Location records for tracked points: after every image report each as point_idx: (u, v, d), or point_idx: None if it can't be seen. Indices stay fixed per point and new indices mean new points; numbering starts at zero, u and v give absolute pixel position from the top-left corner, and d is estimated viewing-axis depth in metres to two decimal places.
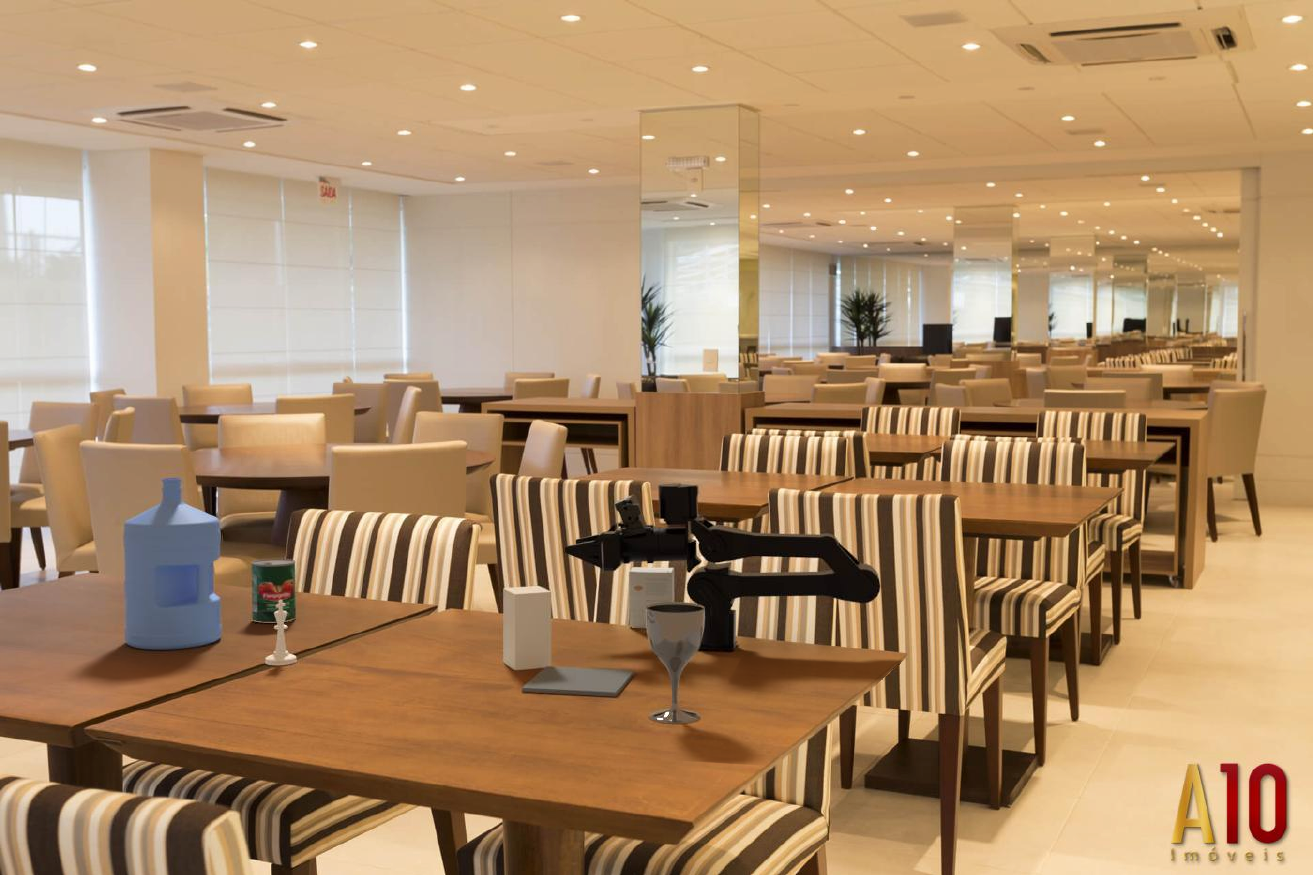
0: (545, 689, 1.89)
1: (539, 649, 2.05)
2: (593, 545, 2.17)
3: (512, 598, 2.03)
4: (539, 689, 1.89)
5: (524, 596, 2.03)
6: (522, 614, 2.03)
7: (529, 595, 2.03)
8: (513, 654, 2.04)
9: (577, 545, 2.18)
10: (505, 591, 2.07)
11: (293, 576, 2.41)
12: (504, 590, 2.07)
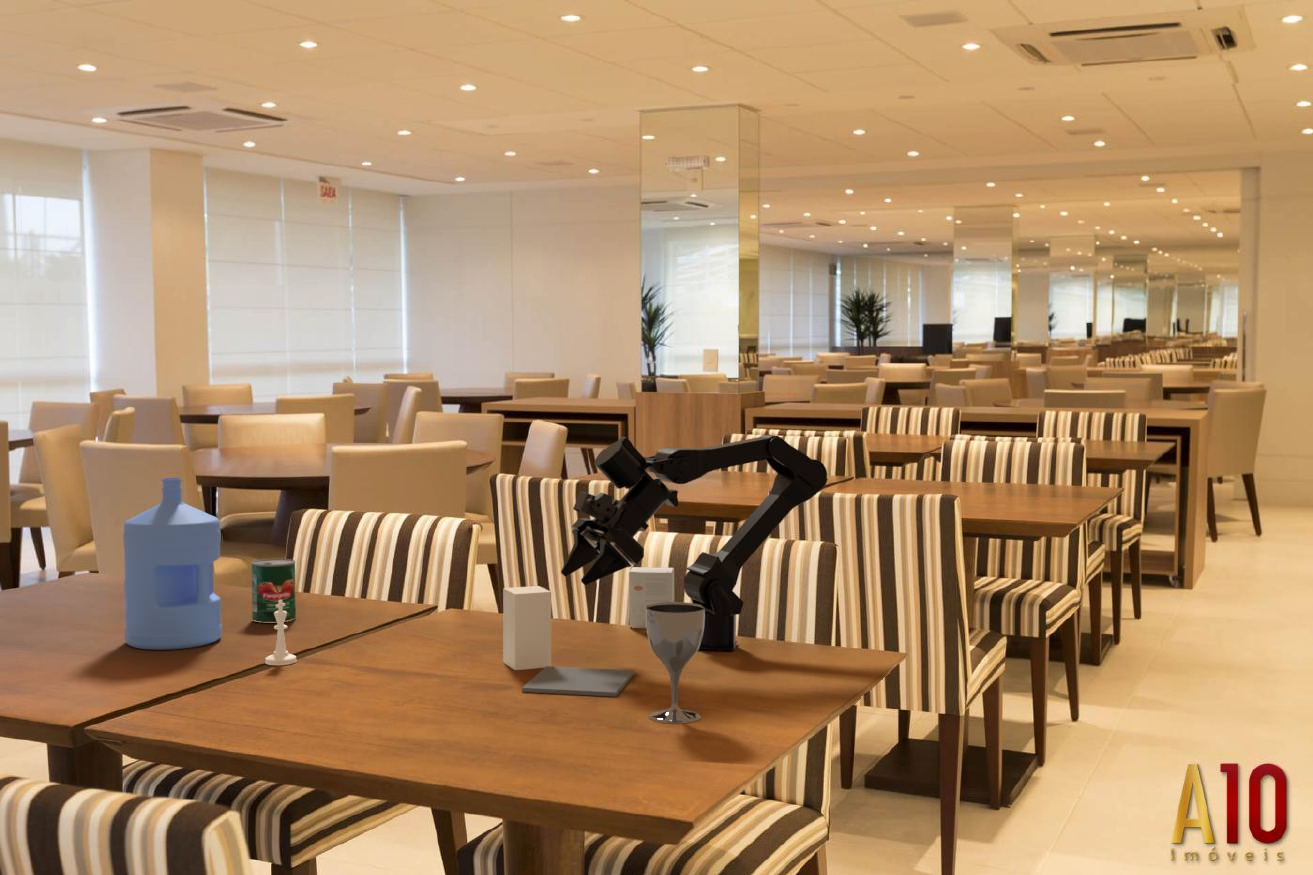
0: (545, 689, 1.89)
1: (539, 649, 2.05)
2: (604, 556, 2.05)
3: (512, 598, 2.03)
4: (539, 689, 1.89)
5: (524, 596, 2.03)
6: (522, 614, 2.03)
7: (529, 595, 2.03)
8: (513, 654, 2.04)
9: (591, 569, 2.05)
10: (505, 591, 2.07)
11: (293, 576, 2.41)
12: (504, 590, 2.07)
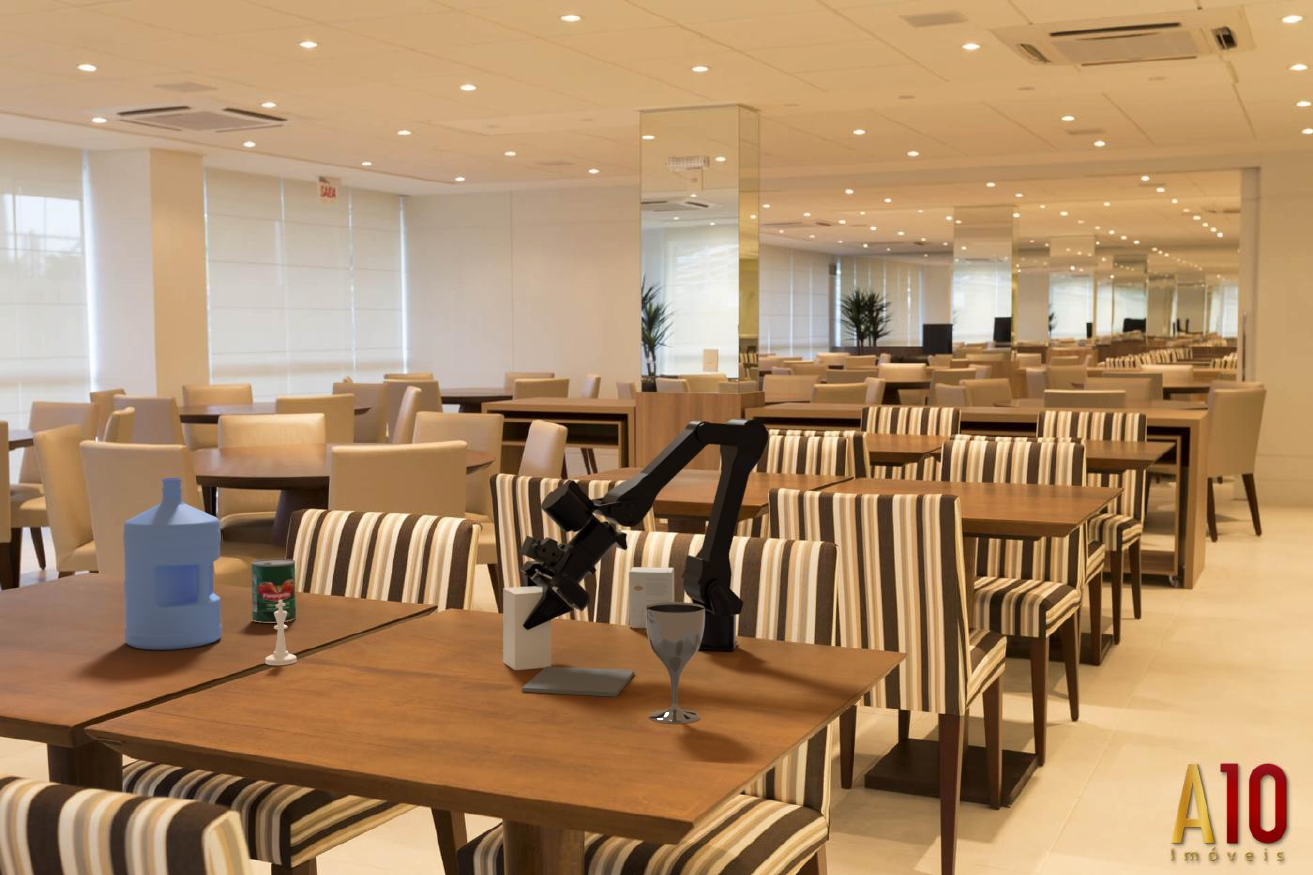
0: (545, 689, 1.89)
1: (539, 649, 2.05)
2: (547, 601, 2.03)
3: (512, 598, 2.03)
4: (539, 689, 1.89)
5: (524, 596, 2.03)
6: (522, 614, 2.03)
7: (529, 595, 2.03)
8: (513, 654, 2.04)
9: (533, 614, 2.03)
10: (505, 591, 2.07)
11: (293, 576, 2.41)
12: (504, 590, 2.07)
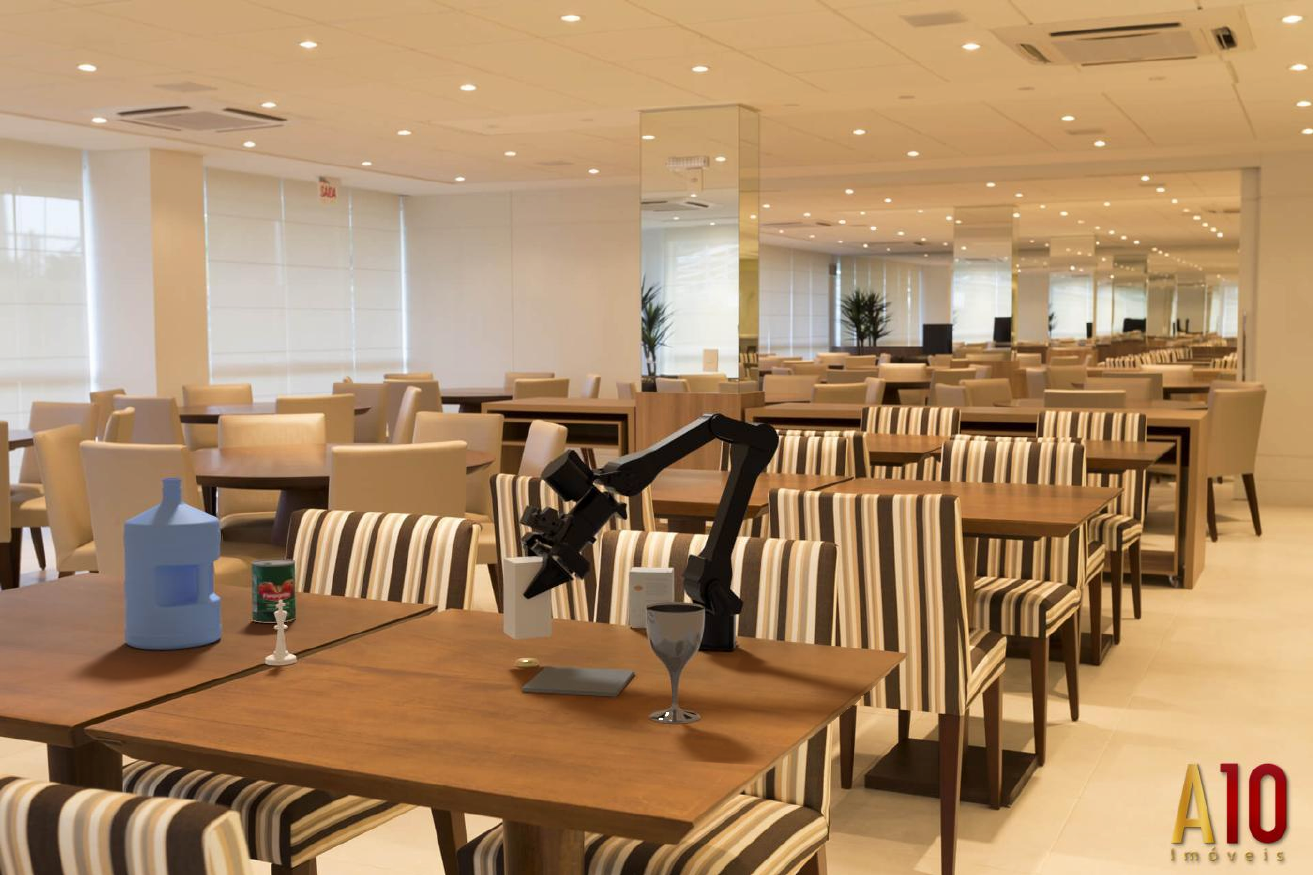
0: (545, 689, 1.89)
1: (539, 618, 2.04)
2: (547, 570, 2.03)
3: (513, 567, 2.03)
4: (539, 689, 1.89)
5: (525, 565, 2.03)
6: (522, 583, 2.03)
7: (529, 564, 2.03)
8: (513, 623, 2.03)
9: (533, 583, 2.02)
10: (505, 561, 2.07)
11: (293, 576, 2.41)
12: (504, 560, 2.07)
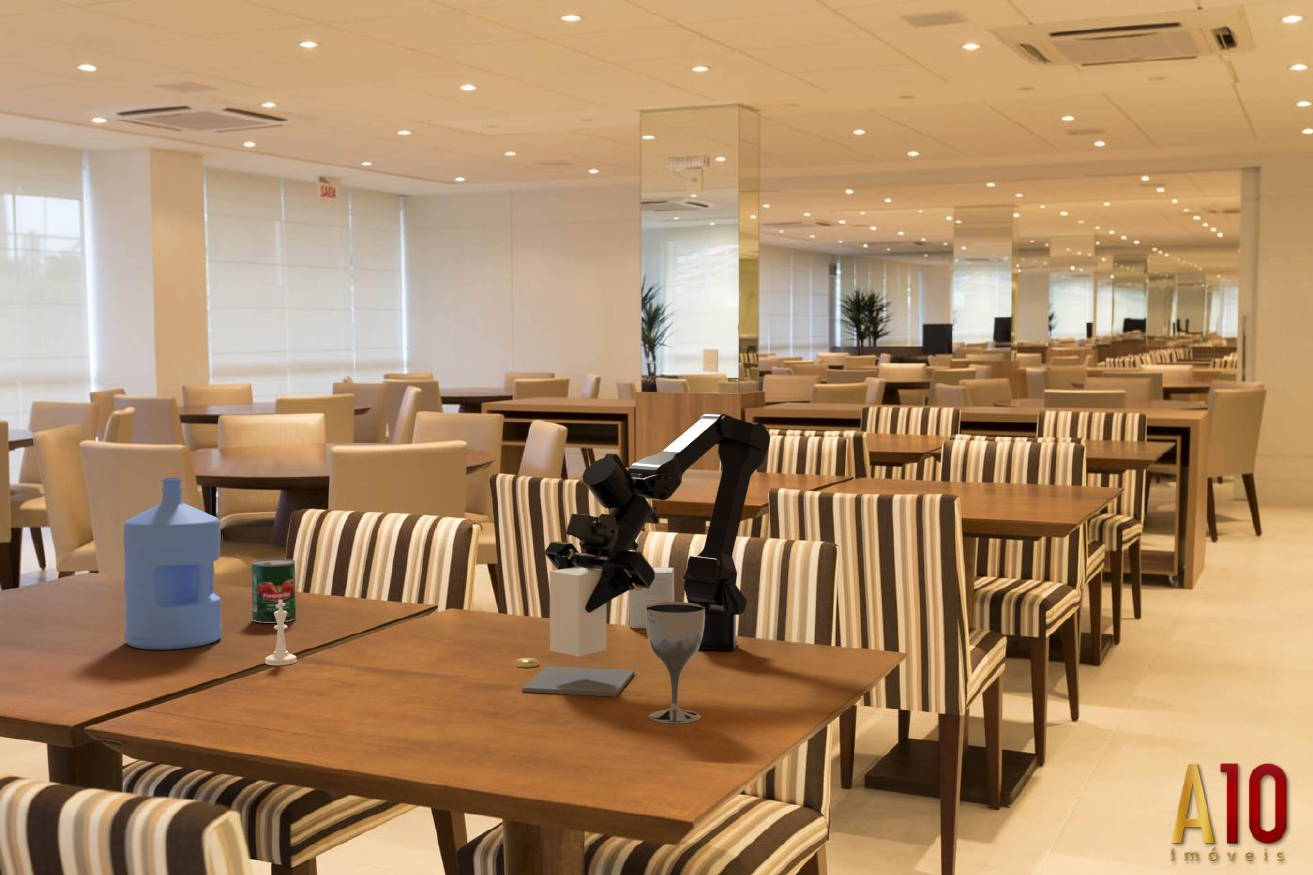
0: (545, 689, 1.89)
1: (597, 632, 1.94)
2: (609, 580, 1.93)
3: (573, 580, 1.91)
4: (539, 689, 1.89)
5: (586, 577, 1.92)
6: (584, 596, 1.92)
7: (589, 576, 1.92)
8: (575, 640, 1.91)
9: (596, 595, 1.92)
10: (555, 574, 1.94)
11: (293, 576, 2.41)
12: (552, 573, 1.94)
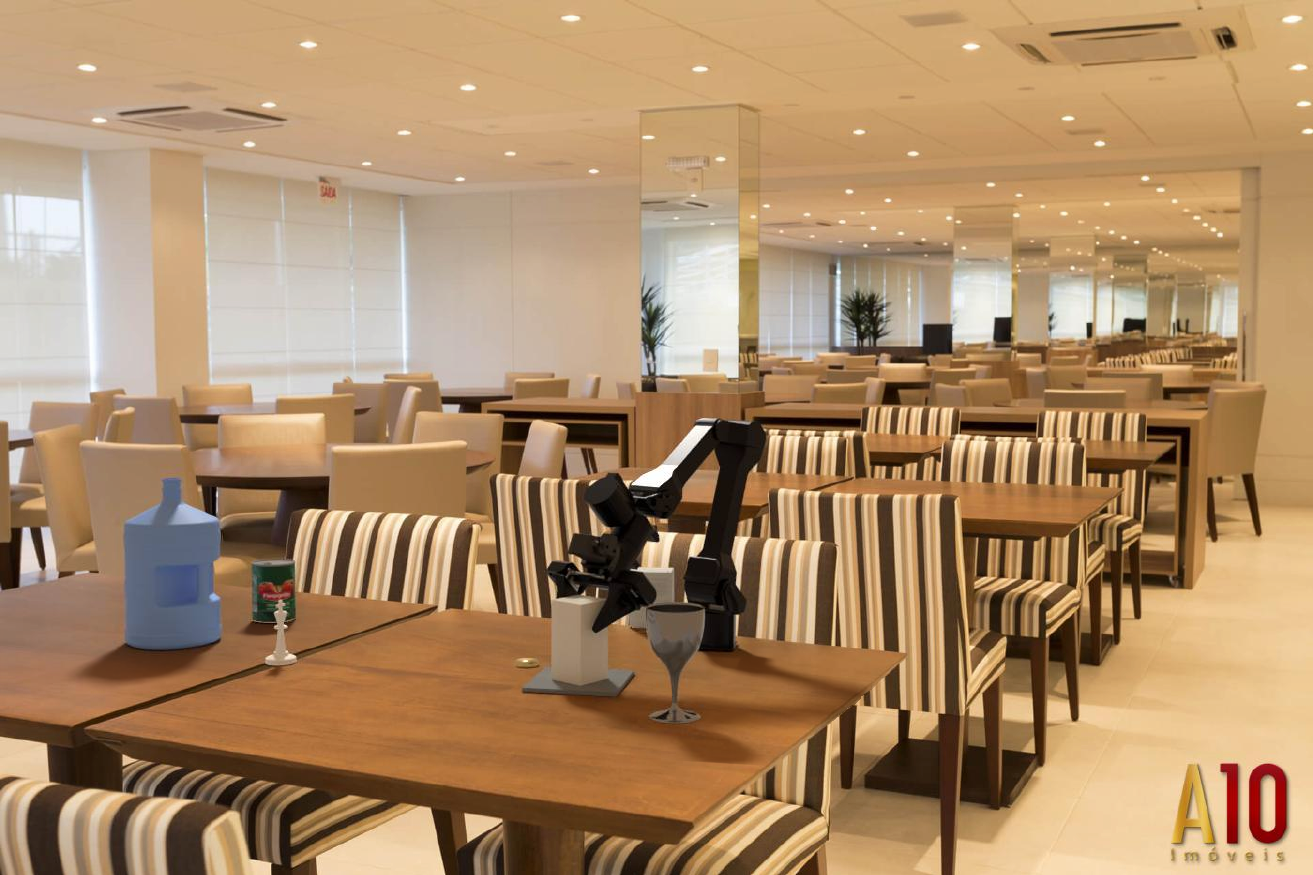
0: (545, 689, 1.89)
1: (599, 661, 1.94)
2: (615, 601, 1.92)
3: (575, 609, 1.91)
4: (539, 689, 1.89)
5: (588, 606, 1.92)
6: (586, 625, 1.92)
7: (591, 604, 1.92)
8: (577, 669, 1.91)
9: (603, 616, 1.91)
10: (557, 603, 1.94)
11: (293, 576, 2.41)
12: (554, 602, 1.94)
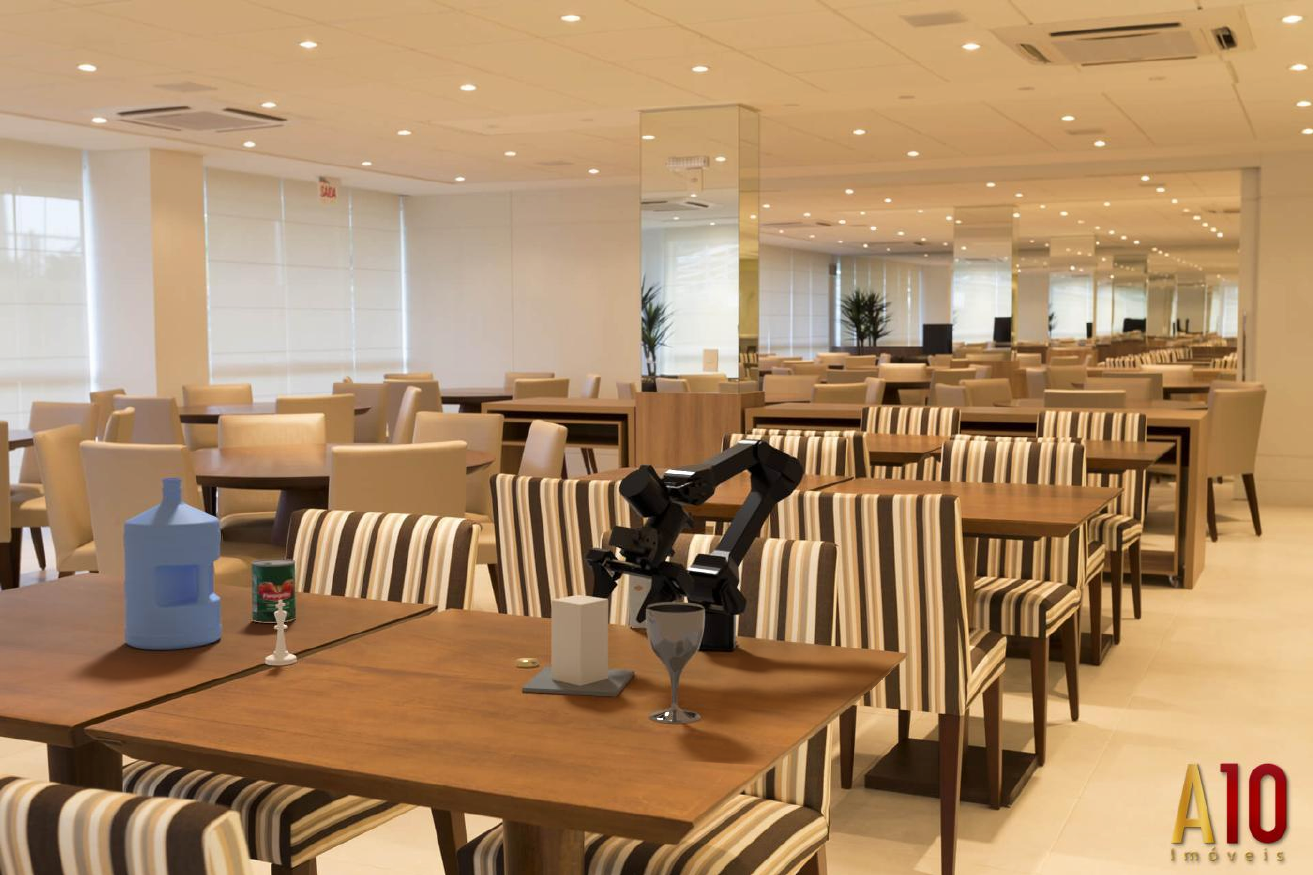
0: (545, 689, 1.89)
1: (599, 661, 1.94)
2: (658, 592, 2.00)
3: (575, 609, 1.91)
4: (539, 689, 1.89)
5: (588, 606, 1.92)
6: (586, 625, 1.92)
7: (591, 604, 1.92)
8: (577, 669, 1.91)
9: None
10: (557, 603, 1.94)
11: (293, 576, 2.41)
12: (554, 602, 1.94)
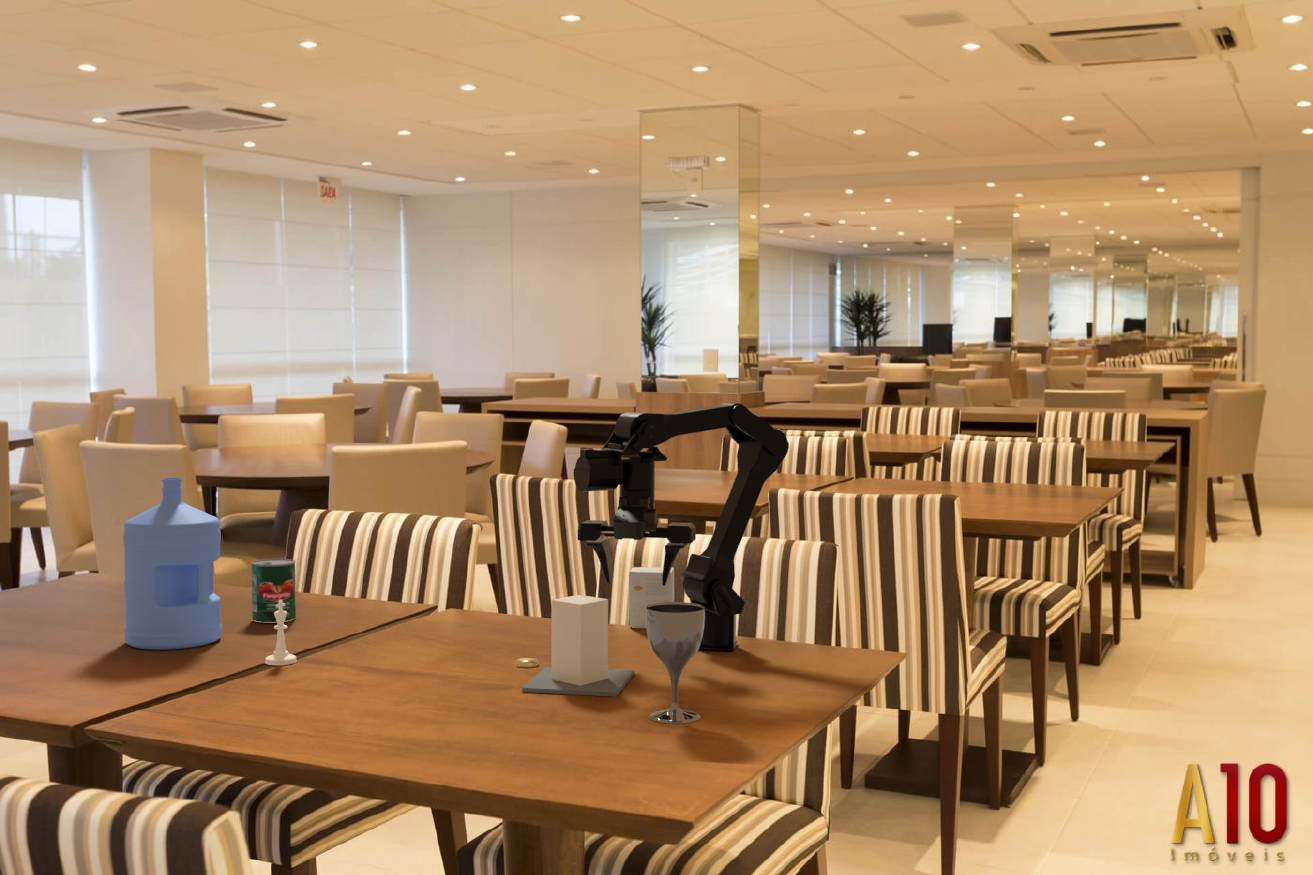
0: (545, 689, 1.89)
1: (599, 661, 1.94)
2: None
3: (575, 609, 1.91)
4: (539, 689, 1.89)
5: (588, 606, 1.92)
6: (586, 625, 1.92)
7: (591, 604, 1.92)
8: (577, 669, 1.91)
9: (668, 571, 2.11)
10: (557, 603, 1.94)
11: (293, 576, 2.41)
12: (554, 602, 1.94)
